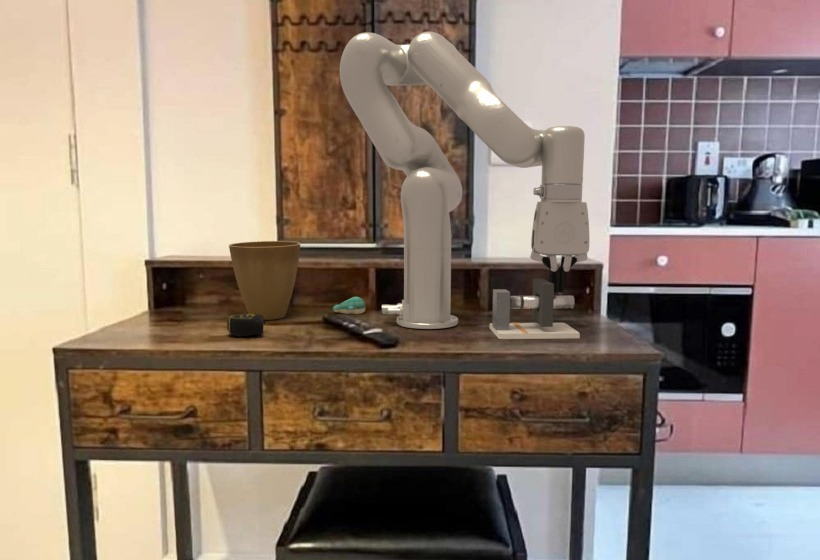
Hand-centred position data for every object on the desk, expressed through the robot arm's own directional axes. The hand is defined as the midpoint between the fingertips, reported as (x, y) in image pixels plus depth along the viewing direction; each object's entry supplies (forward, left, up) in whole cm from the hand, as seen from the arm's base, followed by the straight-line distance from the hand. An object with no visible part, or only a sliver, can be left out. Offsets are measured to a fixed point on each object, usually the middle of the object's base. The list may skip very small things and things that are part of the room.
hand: (557, 291), depth 125 cm
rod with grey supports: (-5, 0, -8) cm, 9 cm away
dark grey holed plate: (-3, 0, -6) cm, 7 cm away
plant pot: (-58, +19, -8) cm, 62 cm away
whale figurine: (-40, +24, -9) cm, 48 cm away
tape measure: (-58, +1, -8) cm, 59 cm away
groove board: (-5, 0, -8) cm, 9 cm away
